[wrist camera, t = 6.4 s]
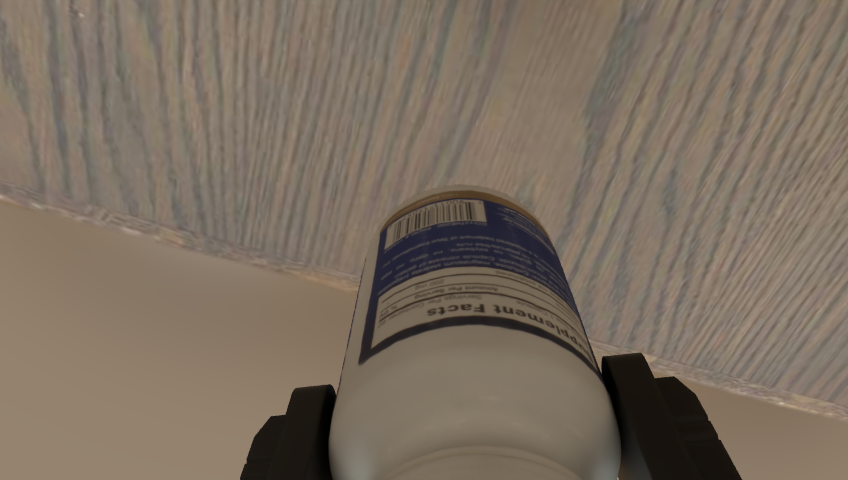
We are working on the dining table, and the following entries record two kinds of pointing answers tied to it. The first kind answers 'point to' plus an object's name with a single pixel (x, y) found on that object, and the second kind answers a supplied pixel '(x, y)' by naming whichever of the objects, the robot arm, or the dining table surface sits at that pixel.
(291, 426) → the robot arm
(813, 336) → the dining table surface
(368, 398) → the pill bottle
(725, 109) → the dining table surface
